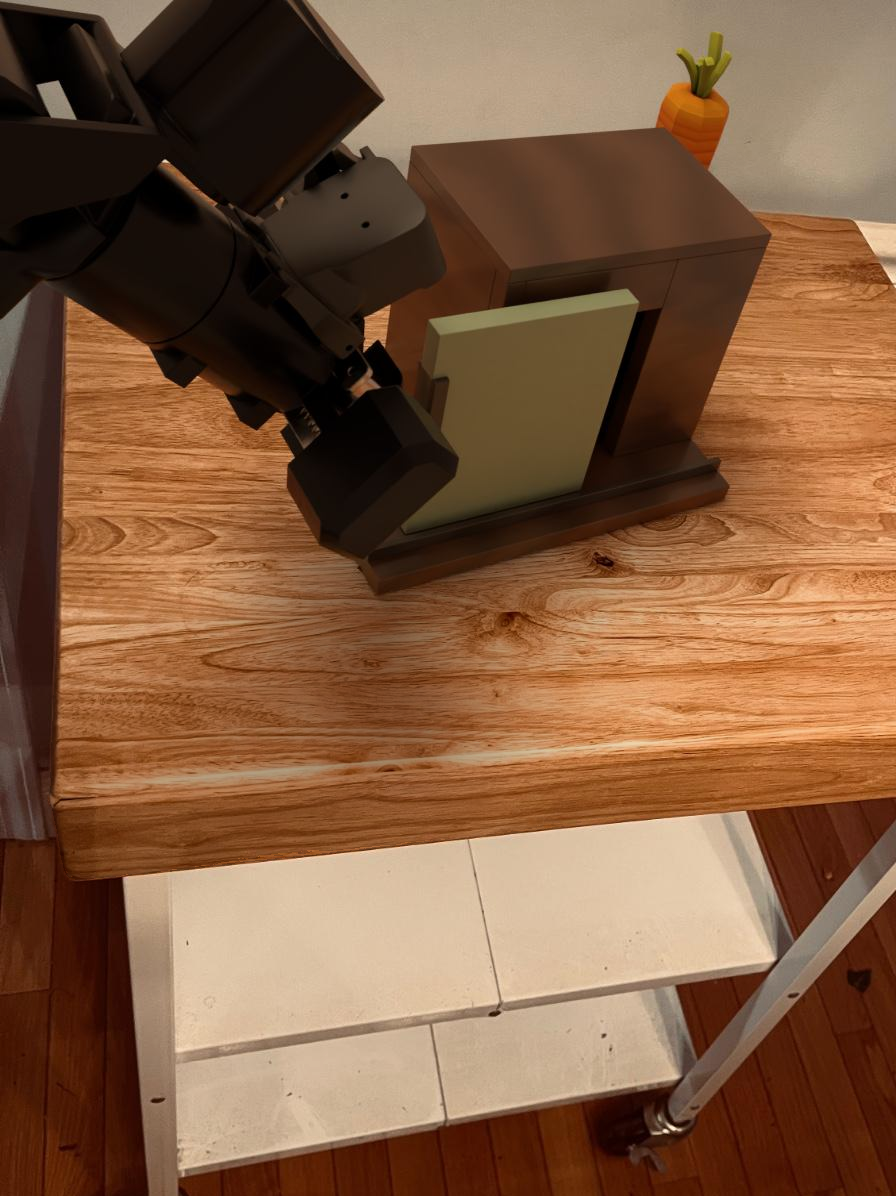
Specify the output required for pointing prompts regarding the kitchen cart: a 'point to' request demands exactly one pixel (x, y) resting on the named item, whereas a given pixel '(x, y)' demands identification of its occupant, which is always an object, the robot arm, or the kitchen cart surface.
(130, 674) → the kitchen cart surface
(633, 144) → the cabinet
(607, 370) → the door
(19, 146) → the robot arm
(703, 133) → the carrot
